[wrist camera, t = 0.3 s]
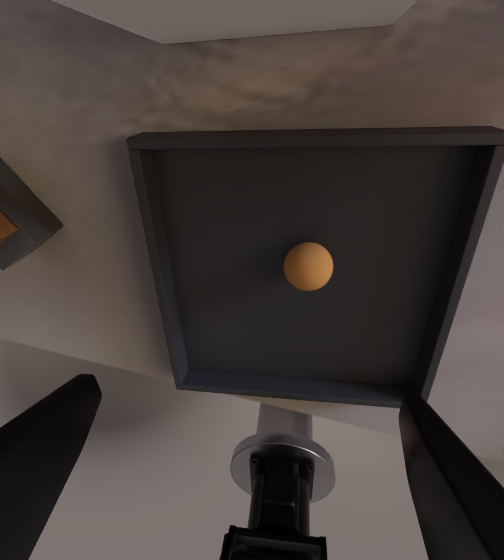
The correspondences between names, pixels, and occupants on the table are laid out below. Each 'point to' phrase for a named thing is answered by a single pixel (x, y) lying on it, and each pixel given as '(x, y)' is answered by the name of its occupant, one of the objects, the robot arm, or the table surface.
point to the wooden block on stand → (21, 219)
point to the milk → (237, 16)
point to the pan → (324, 231)
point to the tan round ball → (308, 266)
